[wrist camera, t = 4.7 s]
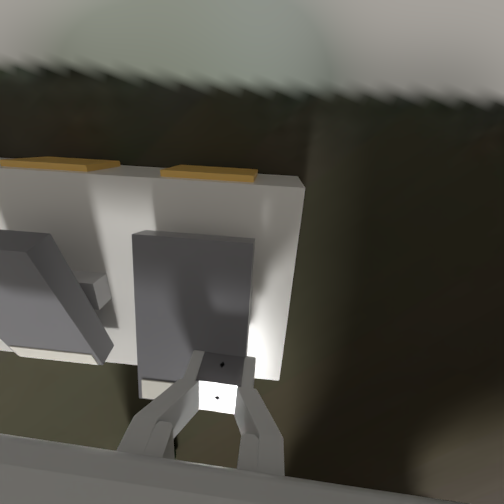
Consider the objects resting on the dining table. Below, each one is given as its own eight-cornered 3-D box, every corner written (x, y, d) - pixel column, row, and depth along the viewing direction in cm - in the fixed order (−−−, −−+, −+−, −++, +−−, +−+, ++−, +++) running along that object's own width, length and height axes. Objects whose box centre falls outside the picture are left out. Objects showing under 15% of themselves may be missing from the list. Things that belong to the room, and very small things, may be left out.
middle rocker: (50, 233, 10) (24, 253, 9) (114, 345, 15) (102, 366, 14) (-67, 224, 10) (-106, 242, 9) (34, 337, 15) (17, 356, 14)
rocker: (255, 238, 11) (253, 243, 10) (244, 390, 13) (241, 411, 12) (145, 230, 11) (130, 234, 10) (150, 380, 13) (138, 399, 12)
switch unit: (298, 170, 14) (309, 184, 10) (278, 335, 19) (279, 396, 15) (-101, 146, 16) (-258, 148, 11) (-22, 306, 21) (-107, 353, 16)
